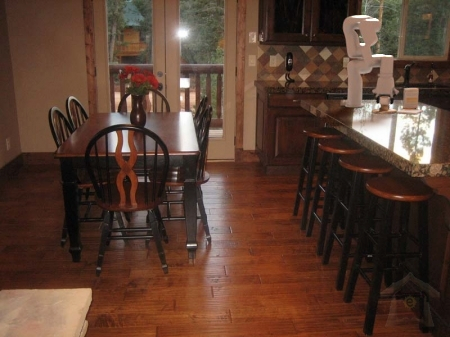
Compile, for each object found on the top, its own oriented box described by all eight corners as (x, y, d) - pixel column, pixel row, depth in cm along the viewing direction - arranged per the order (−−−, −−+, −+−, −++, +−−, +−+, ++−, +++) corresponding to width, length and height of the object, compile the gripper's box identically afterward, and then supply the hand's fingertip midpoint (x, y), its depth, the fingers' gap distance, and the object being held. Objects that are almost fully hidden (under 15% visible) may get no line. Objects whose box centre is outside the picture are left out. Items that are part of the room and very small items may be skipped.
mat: (396, 113, 287) (396, 111, 287) (403, 110, 296) (403, 108, 296) (416, 114, 280) (416, 112, 279) (423, 111, 288) (423, 110, 288)
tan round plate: (367, 112, 293) (368, 104, 292) (377, 109, 304) (377, 101, 303) (391, 114, 284) (391, 106, 282) (400, 111, 294) (400, 103, 293)
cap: (378, 104, 292) (378, 97, 291) (381, 103, 296) (382, 96, 295) (387, 104, 288) (387, 97, 287) (391, 103, 293) (391, 96, 291)
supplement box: (415, 107, 305) (416, 87, 301) (417, 108, 300) (419, 88, 297) (402, 108, 306) (403, 88, 302) (404, 109, 301) (405, 88, 298)
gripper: (370, 76, 290) (369, 103, 295) (397, 76, 279) (396, 105, 284) (375, 75, 296) (373, 102, 301) (402, 75, 285) (400, 103, 290)
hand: (384, 103), depth 292 cm, fingers open, 8 cm apart
